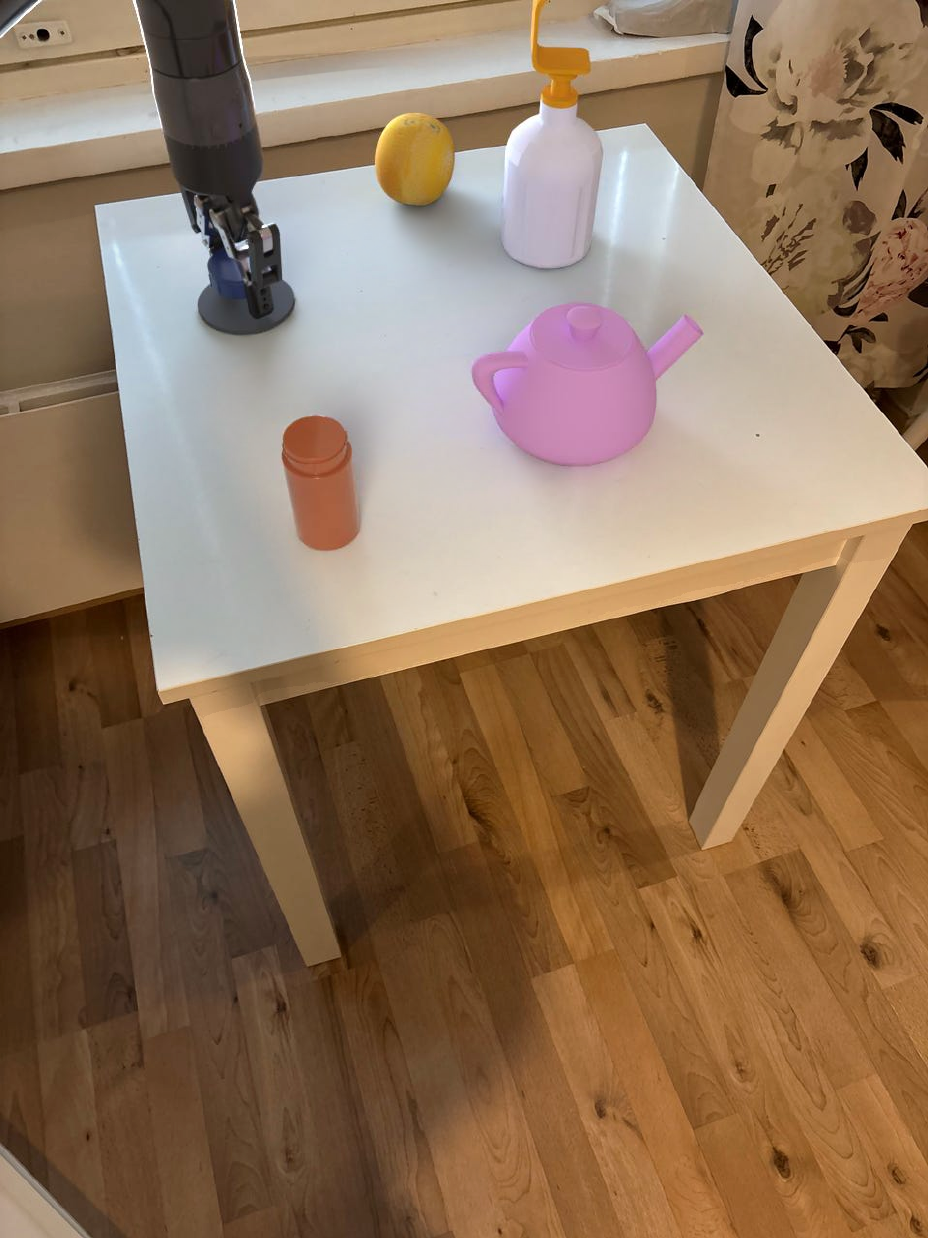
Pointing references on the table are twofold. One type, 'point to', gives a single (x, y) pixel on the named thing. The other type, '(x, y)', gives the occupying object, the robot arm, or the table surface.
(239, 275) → the lid
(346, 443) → the jar
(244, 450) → the table surface
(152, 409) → the table surface
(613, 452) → the teapot
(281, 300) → the coaster
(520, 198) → the soap bottle
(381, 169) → the fruit
